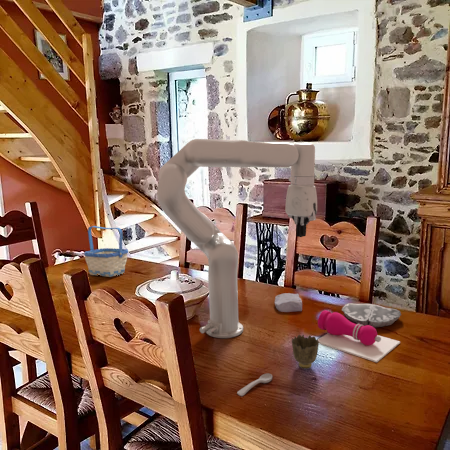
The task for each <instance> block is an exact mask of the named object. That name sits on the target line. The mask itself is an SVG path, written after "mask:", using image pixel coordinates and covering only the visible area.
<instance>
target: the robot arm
mask: <svg viewBox="0 0 450 450" xmlns="http://www.w3.org/2000/svg"><path fill="white" fill-rule="evenodd" d="M315 158H316V147H315V144H313V143H309V142H299V143H290V142H267V141H266V142H264V141H263V142H262V141H251V140H244V139H215V138H210V139H207V138H195V139H192V140H190V141H188V142H187V143H186V144H185V145H184V146H183V147H181V149H179V150H178V151H177V152H176V153H175V154H174V155H173V156H172V157H171V158H169V160H167V161H166V162H165V163H164V164H163V165H162V166H161V167H160V168H159V171H158V174H157V175H158V177H157V178H158V184H157V187H156V197H157V202H158V204H159V205H160V208H161V210H162V211H163V212H164V214H165V215H166V216H167V217H168V218H169V219H170V220H171V221H172V222H173V224H175V226H177V228H178V229H179V230H180V231H181V232H182V233H183V234H184V235H185V237H186V238H187V240H189V241H190V242H191V243H193V244H194V245H195V246H196V247H197V248H198V249H199V250H200V251H201V252H202V253H203V254H204V255H205V257H206V258H207V261H208V268H207V269H208V271H207V274H208V277H207V280H208V302H209V303H208V305H209V307H208V308H209V319H208V320H207V323H206V325H203V326H201V327H199V332H200V333H201V334H204V333H206V334H207V335H208V336H210V337H213V338H217V339H231V338H234V337H237V336H239V335H241V334H242V333H243V332H244V325H243V324H242V323H240V322H239V299H238V296H239V295H238V294H239V293H238V290H239V289H238V266H239V253H238V250H237V247H236V245H235V243H234V242H232V241H231V240H230V239H229V238H228V237H227V236H226V235H225V234H224V233H223V231H221V230H220V228H219V227H218V226H217V225H216V224H215V223H214V222H213V221H212V220H211V219H210V217H208V216H207V215H206V214H205V213H204V212H201V210H200V209H198V207H196V205H195V204H194V203H193V202H192V201H191V199H189V197H188V196H187V195H186V185H187V182H188V178H189V177H190V176H191V175H193V174H194V173H195V172H196V171H197V170H199V168H201V167H202V168H243V169H245V168H290V177H288V181H289V182H290V184H289V185H288V187H287V189H286V190H287V191H286V197H285V214H287V217H288V218H289V219H292V221H294V224H295V227H296V228H295V233H296V234H295V236H296V237H297V238H298V237H299V238H303V237H306V234H307V225H308V224H309V223H310V222H311V221H316V220H317V217H316V216H317V214H318V196H317V189H316V188H317V187H316V185H315V163H316V162H315Z"/></svg>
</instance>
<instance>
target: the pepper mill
mask: <svg viewBox="0 0 450 450" xmlns="http://www.w3.org/2000/svg"><path fill="white" fill-rule="evenodd" d="M317 327H318V328H319V329H320V330H323V331H326V332H327V333H329V334H332V335H348V336H351V337H353V338H354V339H355V340H360V342H361V343H362V344H364V345H372V344H374V343H375V341H376V342H380V341H381V337H380V336H381V335H379V336H377V335H378V332H377V329H376V327H372V326H370V325H366V326H364V325H361V324H358V323H355V322H353V321H351V320H349V319H348V318H347V317H346V316H345V315H344V314H341V312H340V313H339V312H338V311H334V312H331V311H329V310H326V309H324V310H322V311H321V312H320V314H319V316H318V318H317Z"/></svg>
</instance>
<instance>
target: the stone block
mask: <svg viewBox="0 0 450 450" xmlns="http://www.w3.org/2000/svg"><path fill="white" fill-rule="evenodd" d="M274 305H275V308H276V310H278V312H280V313H281V312H282V313H283V312H284V313H290V312H302V310H303V301H302V298H301V297H300V295H299V293H290V292H288V293H286V292H285V293H281V294H278V295H275V298H274Z"/></svg>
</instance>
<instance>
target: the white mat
mask: <svg viewBox="0 0 450 450" xmlns="http://www.w3.org/2000/svg"><path fill="white" fill-rule="evenodd" d="M377 336H380V337H381V341H380V342H376V341H375V343H374V344H372V345H364V344H362V343H361V342H360V340H355V339H354V338H353V337H351V336H348V335H332V334H329V333H328V332H327V333H326V334H324V335H323V336H321V337H320V338H317V339H318V341H319V345H323V346H326V347H329V348H332V349H334V350H339V351H341V352H344V353H347V354H350V355H353V356H356V357H359V358H363V359H365V360H369V361H371V362H374V363H378V362H379V361H380V360H382V359H383V358H384V357H385V356H387V355H388V354H389V353H390V352H391V351H392V350H394V349H395V348H396V347H398V345H399V344H401V341H399V340H396V339H392V338H390V337H386V336H382V335H378V334H377Z"/></svg>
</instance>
